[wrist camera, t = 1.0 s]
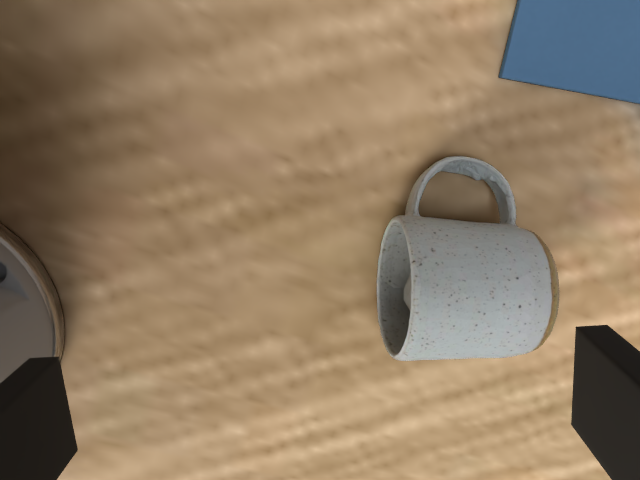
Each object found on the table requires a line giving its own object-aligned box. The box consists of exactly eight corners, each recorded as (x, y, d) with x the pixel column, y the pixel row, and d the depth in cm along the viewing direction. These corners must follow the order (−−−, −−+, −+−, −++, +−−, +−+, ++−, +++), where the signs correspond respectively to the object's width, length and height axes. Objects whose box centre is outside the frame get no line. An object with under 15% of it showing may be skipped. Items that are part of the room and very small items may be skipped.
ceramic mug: (500, 324, 35) (559, 387, 28) (372, 323, 34) (397, 387, 27) (523, 156, 32) (596, 176, 25) (385, 151, 32) (417, 170, 24)
